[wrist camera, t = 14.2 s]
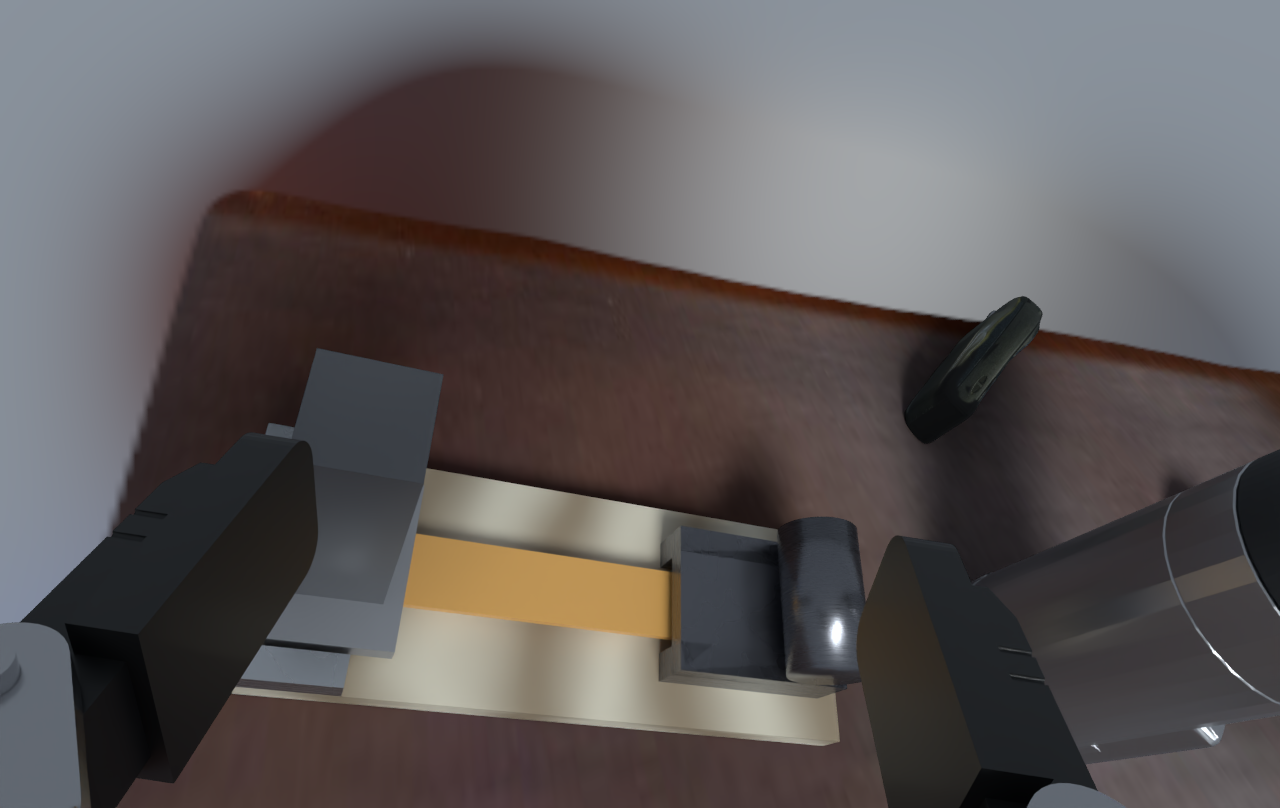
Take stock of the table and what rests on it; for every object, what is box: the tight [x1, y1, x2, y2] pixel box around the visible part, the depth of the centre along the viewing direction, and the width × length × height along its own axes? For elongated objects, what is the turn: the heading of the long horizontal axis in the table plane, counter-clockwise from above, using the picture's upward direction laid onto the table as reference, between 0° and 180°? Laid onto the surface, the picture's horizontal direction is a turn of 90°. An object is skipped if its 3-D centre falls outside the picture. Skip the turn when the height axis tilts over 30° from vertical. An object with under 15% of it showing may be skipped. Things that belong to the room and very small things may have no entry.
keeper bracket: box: [236, 423, 350, 696], centre depth 32 cm, size 5×10×2 cm, turn 179°
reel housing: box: [659, 517, 866, 699], centre depth 36 cm, size 8×6×6 cm
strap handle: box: [262, 348, 672, 659], centre depth 29 cm, size 17×7×13 cm, turn 89°
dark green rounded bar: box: [905, 296, 1042, 444], centre depth 53 cm, size 5×3×15 cm
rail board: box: [231, 468, 840, 746], centre depth 36 cm, size 27×10×2 cm, turn 89°
